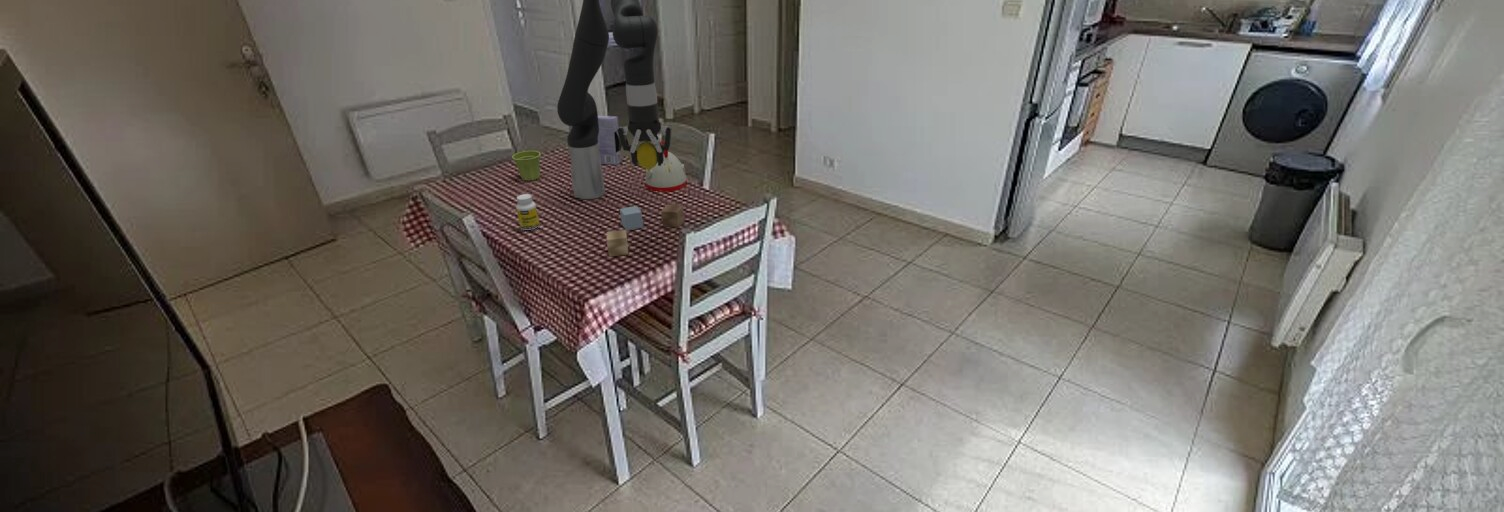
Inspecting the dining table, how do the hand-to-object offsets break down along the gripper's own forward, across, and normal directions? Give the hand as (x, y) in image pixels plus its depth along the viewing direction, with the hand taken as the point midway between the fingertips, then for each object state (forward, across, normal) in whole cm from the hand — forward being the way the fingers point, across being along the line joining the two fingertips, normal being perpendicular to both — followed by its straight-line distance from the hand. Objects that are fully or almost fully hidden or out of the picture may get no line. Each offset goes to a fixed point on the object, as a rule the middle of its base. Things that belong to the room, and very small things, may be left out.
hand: (648, 164), depth 158 cm
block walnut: (+21, +4, +9) cm, 24 cm away
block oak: (+21, -9, -8) cm, 25 cm away
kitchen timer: (+22, -2, +41) cm, 46 cm away
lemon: (+2, 0, 0) cm, 2 cm away
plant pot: (+22, -51, +49) cm, 74 cm away
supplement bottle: (+22, -38, +8) cm, 44 cm away
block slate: (+21, -8, +8) cm, 24 cm away
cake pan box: (+22, -30, +65) cm, 75 cm away
